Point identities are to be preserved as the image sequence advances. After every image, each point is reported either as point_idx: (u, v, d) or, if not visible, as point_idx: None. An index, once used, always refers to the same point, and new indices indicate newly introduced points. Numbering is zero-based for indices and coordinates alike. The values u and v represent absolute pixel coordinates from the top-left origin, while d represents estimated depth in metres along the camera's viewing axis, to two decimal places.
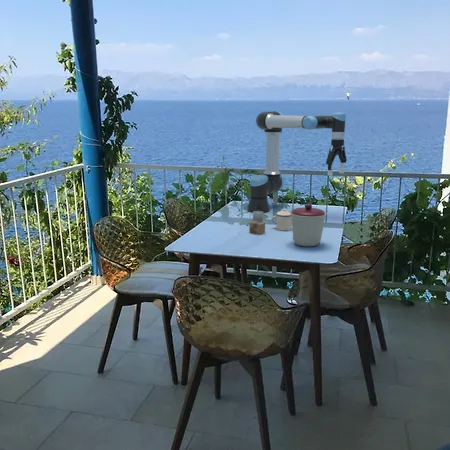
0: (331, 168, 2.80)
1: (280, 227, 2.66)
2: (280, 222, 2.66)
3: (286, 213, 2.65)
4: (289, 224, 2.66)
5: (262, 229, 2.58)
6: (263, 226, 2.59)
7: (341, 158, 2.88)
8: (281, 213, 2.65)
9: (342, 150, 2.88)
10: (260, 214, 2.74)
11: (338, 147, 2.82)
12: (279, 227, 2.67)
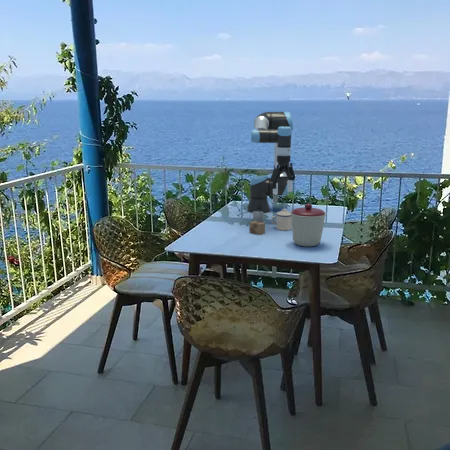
0: (276, 187, 2.59)
1: (280, 227, 2.66)
2: (280, 222, 2.66)
3: (286, 213, 2.65)
4: (289, 224, 2.66)
5: (262, 229, 2.58)
6: (263, 226, 2.59)
7: (289, 175, 2.67)
8: (281, 213, 2.65)
9: None
10: (260, 214, 2.74)
11: (284, 164, 2.60)
12: (279, 227, 2.67)
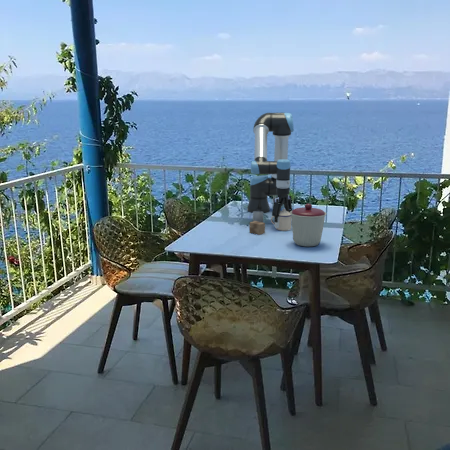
0: (278, 220, 2.65)
1: (280, 227, 2.66)
2: (280, 222, 2.65)
3: (286, 213, 2.65)
4: (289, 224, 2.66)
5: (262, 229, 2.58)
6: (263, 226, 2.59)
7: (286, 208, 2.70)
8: (281, 213, 2.65)
9: (288, 199, 2.71)
10: (260, 214, 2.74)
11: (283, 196, 2.65)
12: (279, 227, 2.67)
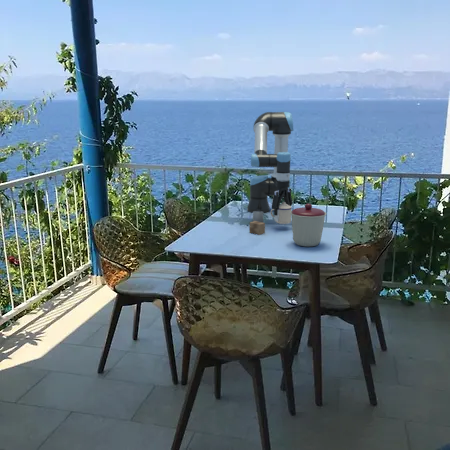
0: (277, 213, 2.64)
1: (279, 220, 2.65)
2: (280, 215, 2.64)
3: (285, 206, 2.64)
4: (288, 217, 2.65)
5: (262, 229, 2.58)
6: (263, 226, 2.59)
7: (286, 201, 2.69)
8: (280, 206, 2.64)
9: (288, 192, 2.70)
10: (260, 214, 2.74)
11: (283, 189, 2.64)
12: None
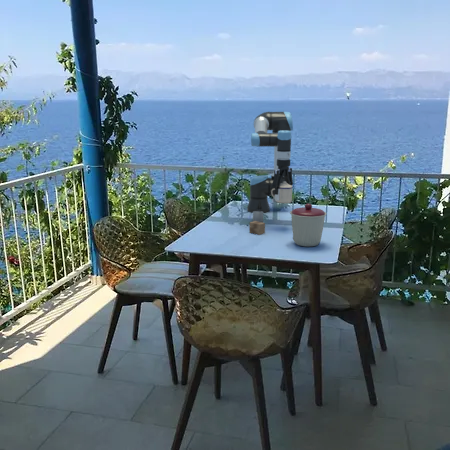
0: (278, 192, 2.61)
1: (280, 200, 2.62)
2: (280, 194, 2.61)
3: (286, 185, 2.61)
4: (289, 197, 2.62)
5: (262, 229, 2.58)
6: (263, 226, 2.59)
7: (287, 181, 2.66)
8: (281, 185, 2.61)
9: None
10: (260, 214, 2.74)
11: (284, 168, 2.61)
12: (279, 200, 2.63)
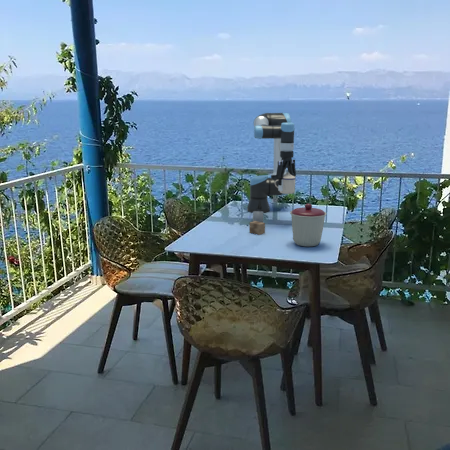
0: (281, 183, 2.67)
1: (283, 190, 2.68)
2: (284, 185, 2.67)
3: (289, 176, 2.67)
4: (292, 187, 2.68)
5: (262, 229, 2.58)
6: (263, 226, 2.59)
7: (290, 172, 2.72)
8: (284, 176, 2.67)
9: (292, 163, 2.73)
10: (260, 214, 2.74)
11: (287, 159, 2.67)
12: None
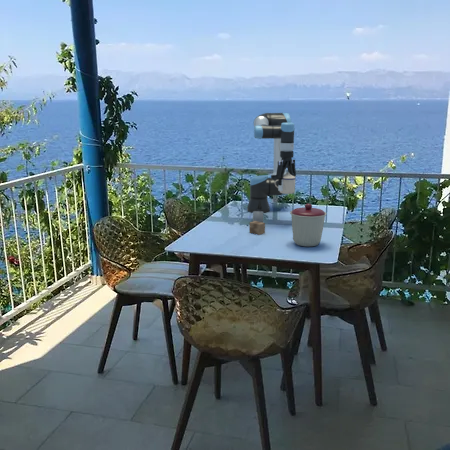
0: (281, 183, 2.67)
1: (283, 190, 2.68)
2: (284, 185, 2.67)
3: (289, 176, 2.67)
4: (292, 187, 2.68)
5: (262, 229, 2.58)
6: (263, 226, 2.59)
7: (290, 172, 2.72)
8: (284, 176, 2.67)
9: (292, 163, 2.73)
10: (260, 214, 2.74)
11: (287, 159, 2.67)
12: None
